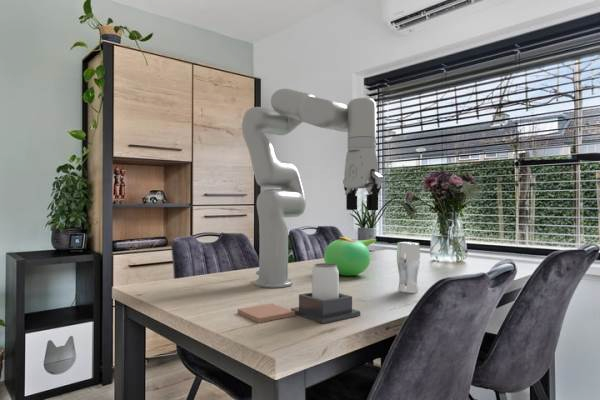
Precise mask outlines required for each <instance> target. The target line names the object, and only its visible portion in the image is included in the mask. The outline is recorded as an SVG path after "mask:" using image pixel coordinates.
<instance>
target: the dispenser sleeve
mask: <svg viewBox="0 0 600 400" xmlns="http://www.w3.org/2000/svg"><path fill="white" fill-rule="evenodd" d="M290 310H292V311H295V315H296V314H297V315H296V316H299V315H300V316H299V317H303V318H304V319H307V318H308V319H307V320H310V319H311V320H310V321H313V320H314V321H313V322H316V321H317V322H316V323H318V322H319V324H321V323H324V324H327V323H328V322H329V323H333V322H337V320H338V321H343V320H347V319H350V318H351V319H352V318H354V317H360V316H361V310H357V309H354V308H353V296H351V295H348V294H344V293H340V292H339V298H335V299H330V300H324V301H323V300H320V299H316V298H313V297H312V292H306V293H299V294H298V306H297V307H292V308H290ZM346 318H347V319H346ZM332 321H333V322H332Z"/></svg>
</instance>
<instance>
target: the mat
mask: <svg viewBox="0 0 600 400" xmlns="http://www.w3.org/2000/svg"><path fill="white" fill-rule="evenodd" d="M237 314H238V315H240V316H243V317H244V318H247V319H250V320H252V321H253V322H254V321H255V322H256V323H258V324H259V323H265V322H270V320H271V321H276V320H280V318H281V319H285V318H286V319H287V318H289V317H296V314H295V311H292V310H291V309H289V308H286V307H283V306H281V305H278V304H274V303H272V302H271V303H266V304H262V305H255V306H248V307H247V306H246V307H243V308H237ZM275 319H276V320H275Z"/></svg>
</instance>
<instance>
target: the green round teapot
mask: <svg viewBox="0 0 600 400" xmlns="http://www.w3.org/2000/svg"><path fill="white" fill-rule="evenodd" d="M376 241H377V239H375V238H369V239H364V240H357V239H354V238H350V237H344V236H339V239H336V240H334V241H331V242H330V243H329V244H328V245H327V247H326V248H325V249H324V254H323V260H324V263H331V264H336V265H337V269H338V271H339V276H340V275H341V276H345V277H346V276H349V277H350V276H351V277H352V276H358V275H360V274H362V273H364V272H365V271H366V270H367V269H368V267H369V266H370V263H371V260H372V259H371V252H370V250H369V249H368V247H369V246H370V245H372V244H374V243H376Z"/></svg>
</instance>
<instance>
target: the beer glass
mask: <svg viewBox="0 0 600 400" xmlns="http://www.w3.org/2000/svg"><path fill="white" fill-rule="evenodd" d="M396 248H397V249H396V263H397V264H396V265H397V270H398V271H397V272H398V276H399V280H398V288H397V291H398V292H399V293H403V294H417V293H419V287H418V275H419V269H420V264H421V263H420V262H421V251H420V242H417V241H416V242H413V241H398V242H397V246H396Z"/></svg>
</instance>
